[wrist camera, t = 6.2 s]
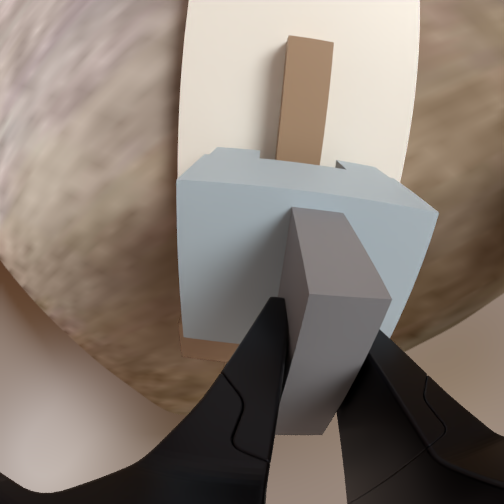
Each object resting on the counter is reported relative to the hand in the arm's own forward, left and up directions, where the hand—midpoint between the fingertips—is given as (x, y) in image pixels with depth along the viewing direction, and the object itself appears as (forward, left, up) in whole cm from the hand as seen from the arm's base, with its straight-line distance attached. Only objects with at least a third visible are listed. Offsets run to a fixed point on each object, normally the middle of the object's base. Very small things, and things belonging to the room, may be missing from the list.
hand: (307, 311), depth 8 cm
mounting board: (0, -5, -10) cm, 11 cm away
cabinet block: (0, 0, -7) cm, 7 cm away
